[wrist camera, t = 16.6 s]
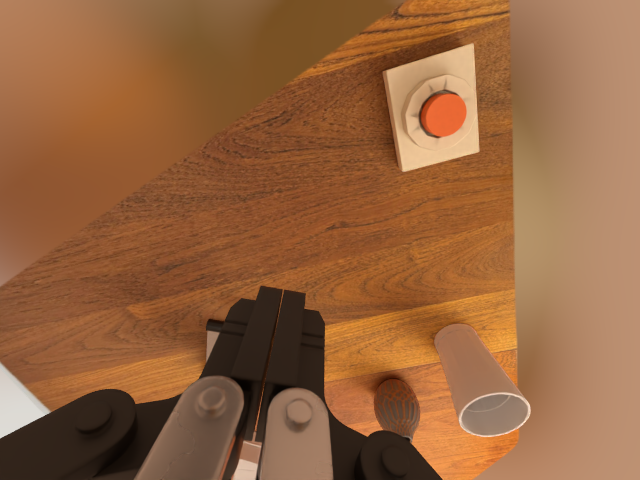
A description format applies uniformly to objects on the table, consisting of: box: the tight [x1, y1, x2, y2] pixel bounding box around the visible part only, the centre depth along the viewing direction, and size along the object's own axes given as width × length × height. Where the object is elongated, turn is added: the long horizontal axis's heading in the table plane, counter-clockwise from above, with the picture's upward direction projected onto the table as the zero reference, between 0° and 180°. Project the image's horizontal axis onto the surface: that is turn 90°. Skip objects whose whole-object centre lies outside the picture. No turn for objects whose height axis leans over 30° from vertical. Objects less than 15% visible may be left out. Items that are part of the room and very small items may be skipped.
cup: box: [434, 323, 530, 437], centre depth 41 cm, size 8×8×12 cm
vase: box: [374, 379, 420, 443], centre depth 47 cm, size 7×7×9 cm
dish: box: [233, 432, 262, 480], centre depth 60 cm, size 22×22×5 cm
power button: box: [421, 93, 467, 137], centre depth 28 cm, size 4×4×2 cm
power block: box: [382, 43, 479, 172], centre depth 31 cm, size 10×8×4 cm
